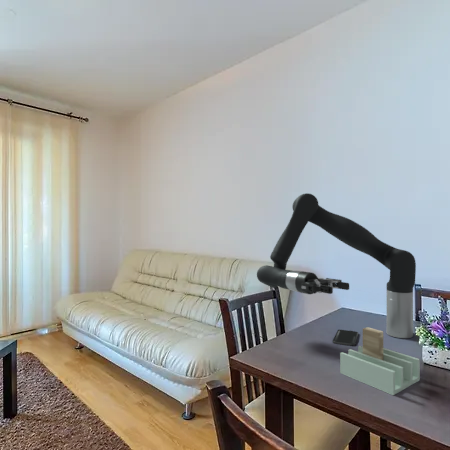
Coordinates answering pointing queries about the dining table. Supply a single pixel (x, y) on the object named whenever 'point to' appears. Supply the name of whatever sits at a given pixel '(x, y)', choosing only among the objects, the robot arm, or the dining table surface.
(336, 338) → the phone
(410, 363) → the slotted rack
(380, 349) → the tan wooden block
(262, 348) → the dining table surface
